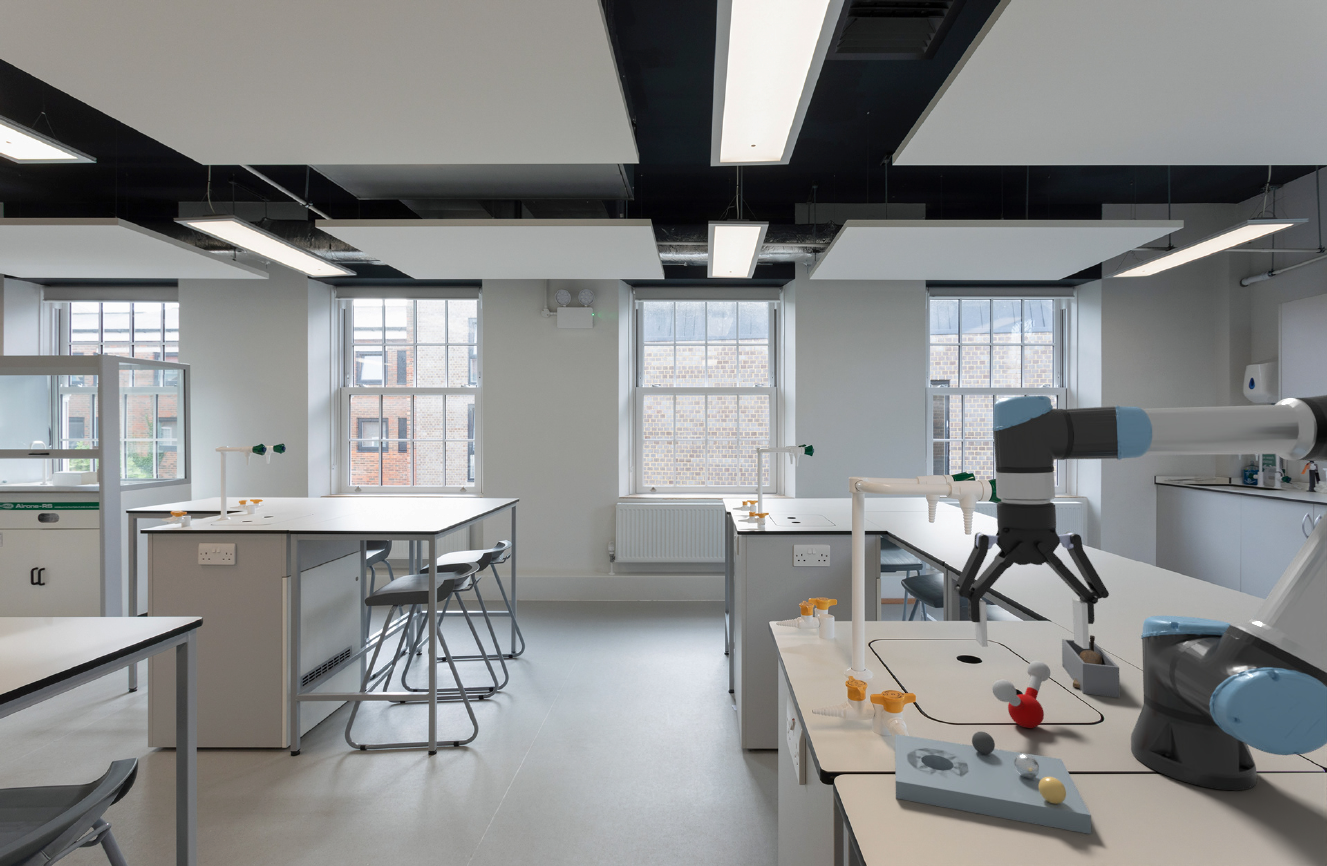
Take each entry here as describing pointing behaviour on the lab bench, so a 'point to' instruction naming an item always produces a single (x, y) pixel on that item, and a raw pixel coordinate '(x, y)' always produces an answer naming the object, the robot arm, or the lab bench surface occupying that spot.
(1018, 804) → the plate
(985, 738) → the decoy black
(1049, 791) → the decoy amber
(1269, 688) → the robot arm
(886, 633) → the lab bench surface
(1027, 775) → the steel ball
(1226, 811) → the lab bench surface
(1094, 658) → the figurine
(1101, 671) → the open storage box
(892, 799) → the lab bench surface
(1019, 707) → the molecular model
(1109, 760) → the lab bench surface
